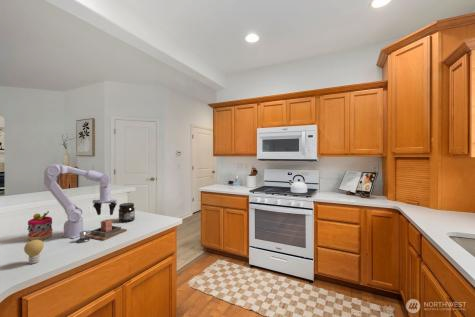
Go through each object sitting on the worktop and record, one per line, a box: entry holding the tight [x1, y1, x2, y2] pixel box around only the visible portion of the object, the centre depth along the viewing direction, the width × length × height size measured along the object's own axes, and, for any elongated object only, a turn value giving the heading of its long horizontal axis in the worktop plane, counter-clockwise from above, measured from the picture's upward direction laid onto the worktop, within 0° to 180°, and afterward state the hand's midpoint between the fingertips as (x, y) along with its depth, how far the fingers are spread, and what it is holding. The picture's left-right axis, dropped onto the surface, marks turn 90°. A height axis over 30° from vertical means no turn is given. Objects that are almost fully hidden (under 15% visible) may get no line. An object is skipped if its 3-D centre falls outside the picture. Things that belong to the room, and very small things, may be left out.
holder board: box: [86, 225, 128, 241], centre depth 131 cm, size 15×16×3 cm
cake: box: [27, 210, 53, 242], centre depth 124 cm, size 10×11×15 cm
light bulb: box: [23, 240, 45, 265], centre depth 96 cm, size 6×6×10 cm
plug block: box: [100, 219, 113, 232], centre depth 131 cm, size 4×4×7 cm
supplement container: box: [118, 202, 136, 224], centre depth 156 cm, size 10×10×12 cm
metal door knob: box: [76, 230, 91, 244], centre depth 120 cm, size 6×6×5 cm
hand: (105, 214), depth 136 cm, fingers open, 7 cm apart
